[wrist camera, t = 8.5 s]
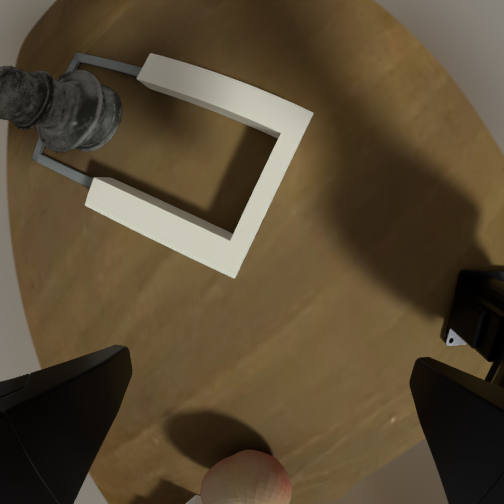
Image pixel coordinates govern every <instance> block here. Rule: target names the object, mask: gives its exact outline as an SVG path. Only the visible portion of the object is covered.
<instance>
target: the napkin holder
mask: <svg viewBox="0 0 504 504" xmlns="http://www.w3.org/2000/svg"><path fill="white" fill-rule="evenodd" d="M186 504H203V503H202V500H201V496H199V495H195V496H194V497H193V498H192V499H190V500H189V501H188V502H187V503H186Z"/></svg>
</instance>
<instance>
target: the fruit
mask: <svg viewBox="0 0 504 504" xmlns="http://www.w3.org/2000/svg"><path fill="white" fill-rule="evenodd" d="M291 493H292V485H291V481H290V478H289V475H288V473H287V472H286V470H285V469H284V467H283V466H282V465H281V464H280V462H279V461H278V460H277V459H276V458H274V457H272V456H271V455H269V454H266V453H264V452H260V451H256V450H243V451H240V452H238V453H236V454H234V455H232V456H230V457H227V458H224V459H222V460H221V461H219V462H218V463H216V464H215V465H214V466H213V467H212V468H210V470H209V471H208V472H207V473H206V475H205V476H204V478H203V480H202V483H201V490H200V494H201V500H202V503H203V504H289V502H290V499H291Z"/></svg>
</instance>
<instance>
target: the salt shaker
mask: <svg viewBox="0 0 504 504" xmlns="http://www.w3.org/2000/svg"><path fill="white" fill-rule="evenodd" d="M121 115H122V107H121V101H120V99H119V96H118V95H117V94H116V93H115V91H114V90H112V89H110V88H109V87H106V86H101V85H100V83H99V81H98V79H97V78H96V77H95V76H94V75H93V74H92V73H90V72H88V71H86V70H73V71H69V72H67V73H65V74H63V75H61V76H60V77H59V78H58V79H56V80H55V81H54V80H53V79H52V77H51V75H50V74H49V73H47V72H45V71H37V72H34V73H29V72H26V71H24V70H21V69H18V68H15V67H12V66H2V67H0V119H4V120H10V121H13V123H14V124H15V126H16V127H18V128H19V129H23V130H25V129H30V128H32V127H34V126H37V132H38V136H39V139H40V140H41V142H42V143H43V145H44V146H45V147H46V148H48V149H49V150H51V151H54V152H67V151H70V150H72V149H75V148H76V149H78V150H81V151H94V150H97V149H100V148H101V147H103V146H104V145H105V144H107V143H108V142H109V141H110V140H111V138H112V137H113V136H114V134H115V133H116V131H117V129H118V127H119V124H120V121H121Z"/></svg>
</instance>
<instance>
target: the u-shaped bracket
mask: <svg viewBox="0 0 504 504" xmlns="http://www.w3.org/2000/svg"><path fill="white" fill-rule="evenodd" d="M137 80H139V81H140V82H141V83H143V84H144V85H145V86H147V87H148V88H149V89H152V90H155V91H158V92H161V93H164V94H167V95H170V96H173V97H176V98H178V99H181V100H184V101H187V102H190V103H192V104H195V105H198V106H200V107H203V108H206V109H208V110H211V111H214V112H216V113H219V114H221V115H224V116H226V117H229V118H231V119H234V120H236V121H239V122H241V123H243V124H246V125H248V126H250V127H253V128H255V129H257V130H260V131H262V132H264V133H266V134H269V135H271V136H273V137H275V138H278V140H277V142H276V144H275V146H274V148H273V151H272V153H271V155H270V157H269V159H268V161H267V163H266V165H265V167H264V169H263V172H262V174H261V176H260V178H259V180H258V182H257V184H256V186H255V188H254V191H253V193H252V195H251V197H250V199H249V201H248V203H247V206H246V208H245V210H244V212H243V214H242V216H241V219H240V221H239V223H238V225H237V227H236V229H235V232H234V234H233V233H230V232H228V231H226V230H224V229H222V228H220V227H218V226H215V225H213V224H211V223H209V222H207V221H205V220H203V219H200V218H198V217H196V216H194V215H192V214H190V213H187V212H185V211H183V210H181V209H179V208H177V207H174V206H172V205H170V204H168V203H166V202H164V201H161V200H159V199H157V198H155V197H153V196H151V195H148V194H146V193H144V192H142V191H140V190H137V189H135V188H133V187H131V186H129V185H127V184H124V183H122V182H120V181H118V180H116V179H113V178H110V177H94V179H93V181H92V184H91V187H90V190H89V193H88V196H87V199H86V203H85V206H87V207H89V208H91V209H93V210H95V211H97V212H99V213H101V214H103V215H105V216H107V217H109V218H111V219H112V220H114V221H116V222H118V223H120V224H122V225H124V226H126V227H128V228H130V229H132V230H134V231H136V232H138V233H140V234H142V235H144V236H147V237H149V238H151V239H153V240H155V241H157V242H159V243H161V244H163V245H165V246H167V247H169V248H171V249H173V250H175V251H177V252H179V253H181V254H183V255H186V256H188V257H190V258H192V259H194V260H196V261H198V262H200V263H202V264H204V265H206V266H209V267H211V268H213V269H215V270H217V271H219V272H221V273H223V274H226V275H228V276H230V277H232V278H234V279H235V277H236V275H237V273H238V271H239V269H240V267H241V265H242V262H243V260H244V258H245V256H246V254H247V252H248V250H249V248H250V246H251V243H252V241H253V239H254V237H255V235H256V233H257V231H258V229H259V227H260V224H261V222H262V220H263V218H264V216H265V214H266V212H267V210H268V208H269V206H270V203H271V201H272V199H273V197H274V195H275V193H276V191H277V189H278V187H279V185H280V182H281V180H282V178H283V176H284V174H285V172H286V170H287V168H288V166H289V164H290V161H291V159H292V157H293V155H294V153H295V151H296V149H297V147H298V145H299V143H300V141H301V138H302V136H303V134H304V132H305V130H306V128H307V126H308V124H309V122H310V120H311V118H312V115H313V112H311V111H309V110H306V109H304V108H302V107H300V106H298V105H296V104H293V103H291V102H289V101H287V100H285V99H282V98H280V97H278V96H275V95H273V94H271V93H268V92H266V91H263V90H261V89H258V88H256V87H253V86H251V85H248V84H246V83H243V82H241V81H238V80H235V79H232V78H230V77H227V76H224V75H221V74H218V73H216V72H213V71H210V70H207V69H204V68H201V67H198V66H194V65H191V64H188V63H185V62H181V61H178V60H174V59H171V58H167V57H164V56H160V55H156V54H152V53H150V55H149V56H148V58H147V60H146V62H145V64H144V66H143V67H142V69H141V71H140V73H139V75H138V77H137Z"/></svg>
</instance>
